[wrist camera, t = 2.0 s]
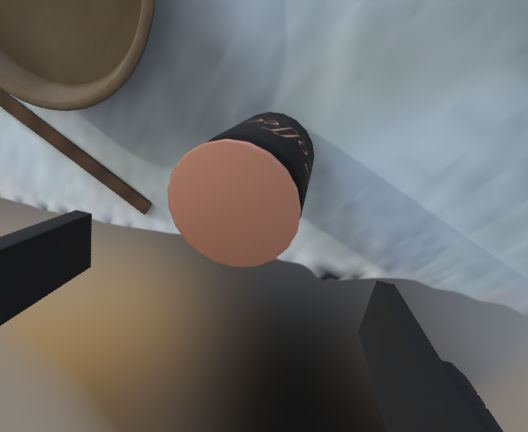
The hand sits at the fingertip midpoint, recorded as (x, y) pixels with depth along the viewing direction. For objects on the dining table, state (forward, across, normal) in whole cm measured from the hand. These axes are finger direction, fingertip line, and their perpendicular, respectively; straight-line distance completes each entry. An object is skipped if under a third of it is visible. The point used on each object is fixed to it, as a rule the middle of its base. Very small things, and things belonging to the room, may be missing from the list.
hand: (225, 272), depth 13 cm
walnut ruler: (+30, -32, -3) cm, 44 cm away
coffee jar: (+27, -1, +3) cm, 27 cm away
